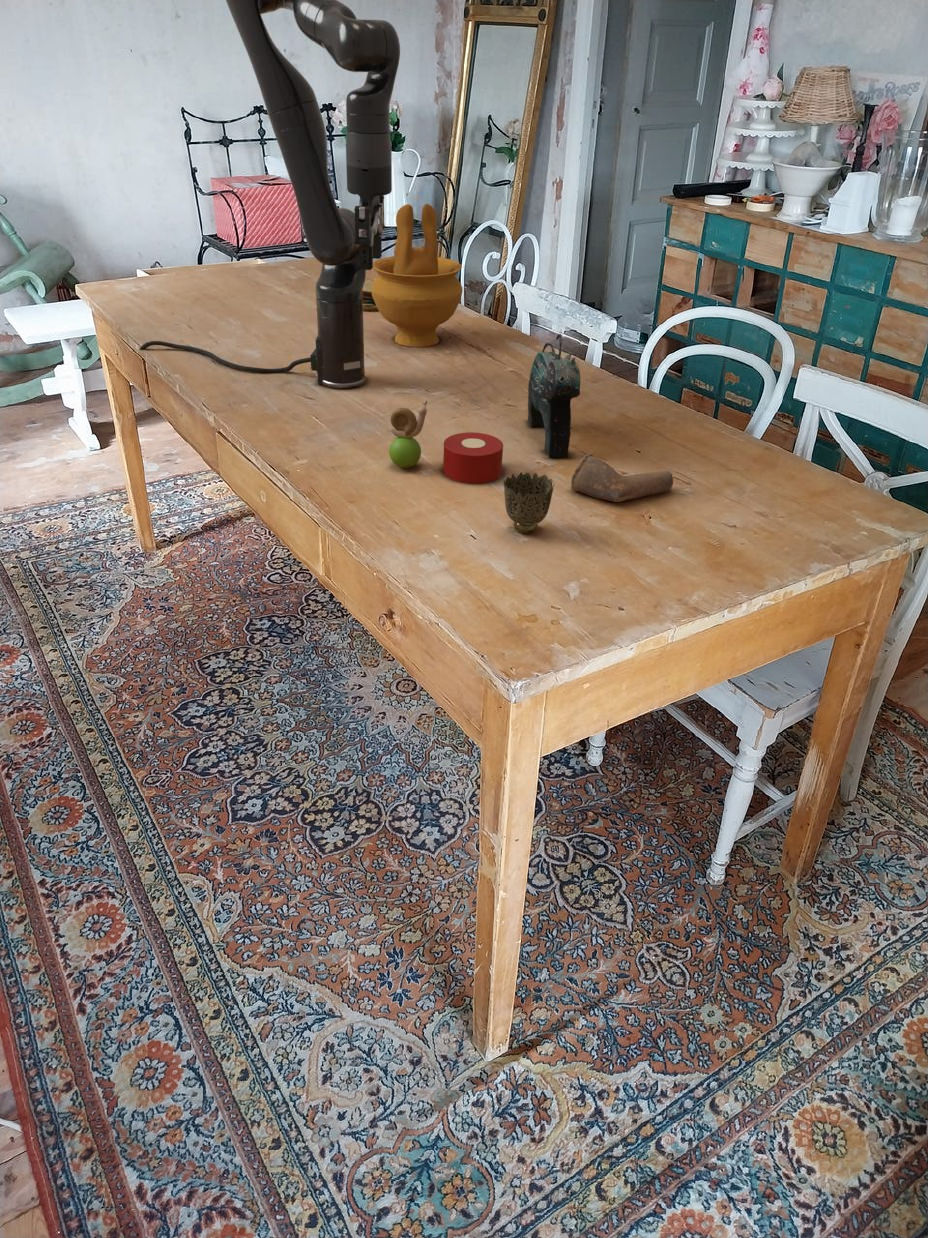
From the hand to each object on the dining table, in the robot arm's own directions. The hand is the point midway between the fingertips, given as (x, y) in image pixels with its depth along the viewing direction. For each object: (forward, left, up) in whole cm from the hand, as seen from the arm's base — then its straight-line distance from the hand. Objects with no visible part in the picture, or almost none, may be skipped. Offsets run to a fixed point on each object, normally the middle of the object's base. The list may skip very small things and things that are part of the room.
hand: (370, 263), depth 164 cm
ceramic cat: (+33, -6, -28) cm, 44 cm away
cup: (+31, -42, -28) cm, 59 cm away
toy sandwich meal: (-16, +78, -28) cm, 85 cm away
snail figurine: (+10, -22, -28) cm, 37 cm away
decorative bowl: (+1, +50, -28) cm, 57 cm away
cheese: (+21, -22, -28) cm, 41 cm away
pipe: (+46, -26, -28) cm, 60 cm away
